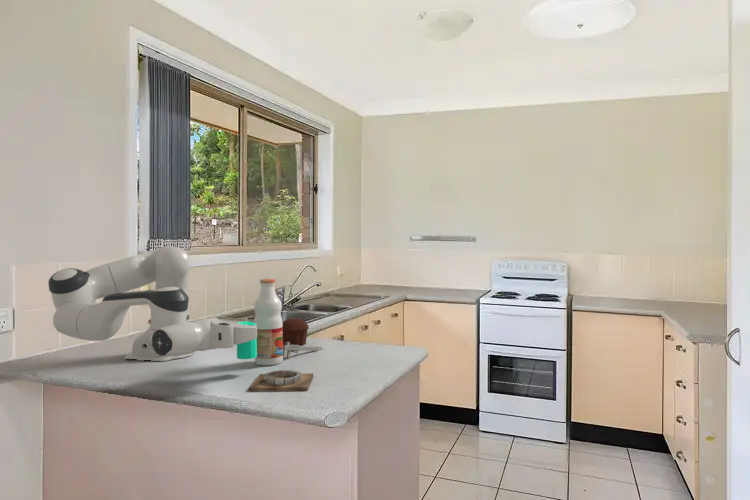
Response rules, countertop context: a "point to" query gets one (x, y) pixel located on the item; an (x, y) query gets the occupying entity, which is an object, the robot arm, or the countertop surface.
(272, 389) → the ring board
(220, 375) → the countertop surface
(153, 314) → the robot arm
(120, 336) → the countertop surface
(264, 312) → the fruit juice
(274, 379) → the ring collar
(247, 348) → the candle
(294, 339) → the muffin
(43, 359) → the countertop surface
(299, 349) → the caliper
